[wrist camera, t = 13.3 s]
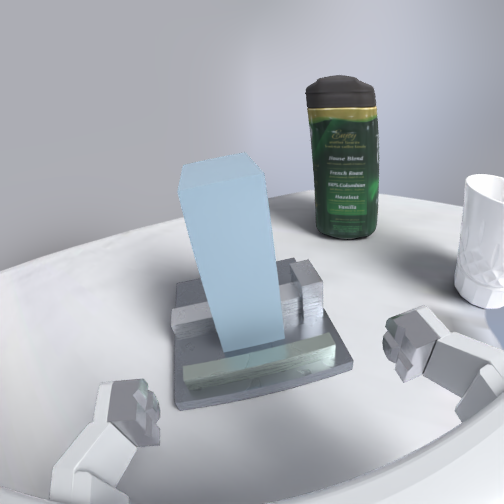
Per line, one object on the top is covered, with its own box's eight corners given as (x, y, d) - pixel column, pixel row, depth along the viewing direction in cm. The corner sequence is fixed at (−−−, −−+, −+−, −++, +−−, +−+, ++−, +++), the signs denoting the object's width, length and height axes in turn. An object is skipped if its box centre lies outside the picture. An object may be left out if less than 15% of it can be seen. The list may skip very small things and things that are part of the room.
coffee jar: (379, 244, 32) (376, 73, 23) (311, 240, 35) (295, 76, 25) (377, 210, 39) (372, 76, 30) (322, 208, 42) (311, 78, 33)
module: (223, 352, 21) (177, 191, 15) (216, 294, 27) (183, 163, 21) (284, 338, 21) (264, 173, 15) (264, 283, 27) (243, 151, 21)
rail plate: (179, 410, 18) (158, 376, 16) (179, 291, 30) (168, 258, 28) (352, 369, 19) (357, 330, 17) (294, 265, 31) (291, 231, 29)
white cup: (503, 327, 18) (541, 218, 13) (435, 290, 24) (453, 185, 19) (521, 284, 21) (545, 193, 16) (464, 256, 27) (478, 169, 22)
